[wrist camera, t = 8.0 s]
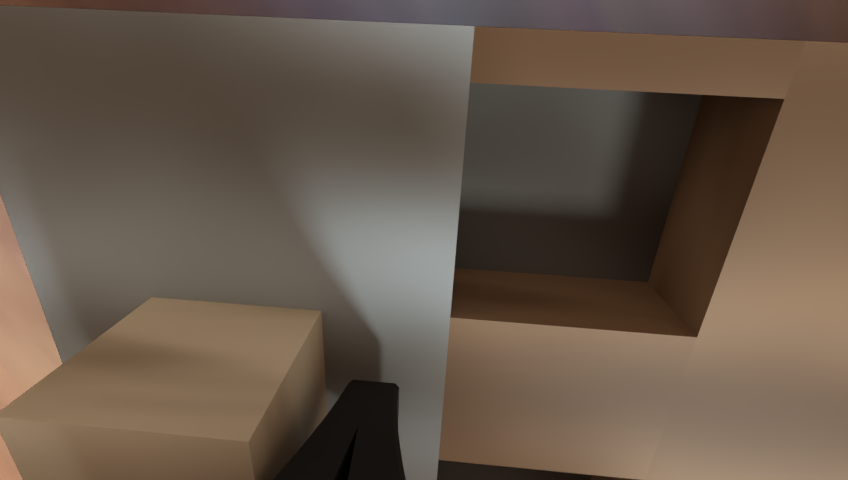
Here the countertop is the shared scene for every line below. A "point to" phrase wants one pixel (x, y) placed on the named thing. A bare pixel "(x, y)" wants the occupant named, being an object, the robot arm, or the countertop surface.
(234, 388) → the block
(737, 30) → the countertop surface
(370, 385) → the robot arm
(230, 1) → the countertop surface
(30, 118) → the trap board
